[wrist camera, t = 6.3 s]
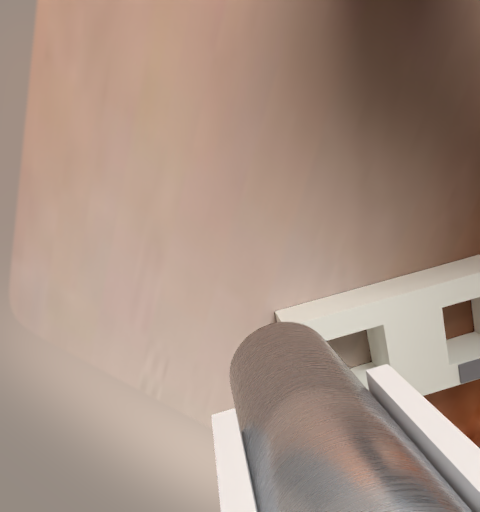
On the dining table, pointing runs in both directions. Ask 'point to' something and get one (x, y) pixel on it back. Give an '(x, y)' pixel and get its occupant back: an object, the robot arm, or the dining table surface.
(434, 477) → the plug
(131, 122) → the dining table surface
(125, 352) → the dining table surface
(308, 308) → the socket board
